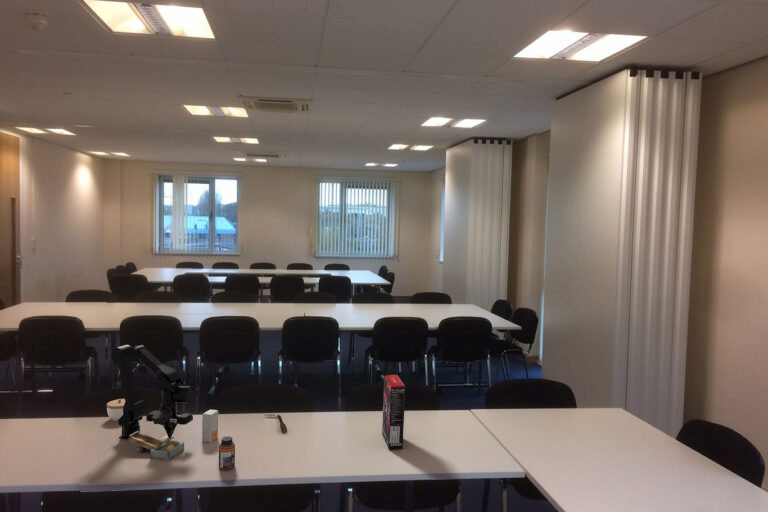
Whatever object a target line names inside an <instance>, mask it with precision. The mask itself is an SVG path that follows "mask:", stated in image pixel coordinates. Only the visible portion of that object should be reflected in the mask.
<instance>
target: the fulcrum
mask: <svg viewBox="0 0 768 512" xmlns="http://www.w3.org/2000/svg"><path fill="white" fill-rule="evenodd" d="M137 450H138V451H137V452H138V454H141V455H142V454H143V453H145V452H147V451H148V450H149V449H147V448H144V447H142V446H138V448H137Z"/></svg>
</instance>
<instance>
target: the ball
mask: <svg viewBox="0 0 768 512" xmlns="http://www.w3.org/2000/svg"><path fill="white" fill-rule="evenodd" d="M174 447H175V446H174V445H169V446H168V447H167V451H170V450H171V449H173V448H174Z"/></svg>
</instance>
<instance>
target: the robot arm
mask: <svg viewBox="0 0 768 512" xmlns="http://www.w3.org/2000/svg"><path fill="white" fill-rule="evenodd" d="M110 353H111V356H110V357H111V359H112V361H113V364H115V366H116V367H117V368H118V371H119V376H120V381H121V385H122V386H121V387H122V389H123V390H122V391H123V396H124V397H123V398H124V399H125V404H124V407H123V415H122V416H121V417H120V418H119V419H118V421H117V424H118V426H121V435H120V436H119V437H118V438H119V439H123V440H128V439H129V435H131V434H133V433H135V432H136V431H139V432H140V433H141V425H140V421H141V420H143V417H144V415H145V414H146V409H147V407H146V405H145V400H141V399H140V398H139V396H138V391H137V386H136V381H135V377H134V376H135V375H134V370H133V365H132V364H133V361H134V358H136V359H138V360H139V361H140V362H141V363H142V364H143V365H144V366H145V367H146V368H148V369H149V370H150V371H151V372H152V374H154V377H155V380H156V381H157V383H158V384H159V385H160V386H159V387H157V389H156V390H157V391H159V392H160V391H161V404H160V405H159V409H158V410H153V411H150V412H149V413H147V415H146V416H145V417H146V422H153V425H159V426H163V428H164V430H165V432H166V435H168V437H169V438H171V437H172V436H173V434H174V432H175V430H176V428H177V426H178V425H182V426H183V425H184V426H186V425H188V424H189V423H190V422H192V421H193V420H194V416H193V414H192V413H185V412H184V413H182V414H180V412H179V410H178V405H179V404H180V403H182V404H192V402H193V401H194V399H195V392H194V389H192V386H190V385H187V386H185V383H184V381H183V379H182V378H181V376H180V375H179V374H180V373H179V372H178V371H177V370H176V369H174V368H173V367H170V366H168V365H165V364H163V363H162V362H161V361H160V360H159V359H158V358H157V357H155V356H154V354H152V353H151V352H150V351H149V350H148V349H147V347H146V346H145V345H143V344H140V345H129V344H124V345H121V346H117V347H114V348H113V349H112V350H111V351H110ZM178 414H179V415H178Z"/></svg>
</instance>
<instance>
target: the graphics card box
mask: <svg viewBox="0 0 768 512" xmlns="http://www.w3.org/2000/svg"><path fill="white" fill-rule="evenodd" d="M383 379H384V381H383V400H382V401H383V403H382V404H383V405H382V424H381V425H382V427H381V436H382V437H383V439H384V442H385V444H386V447H387V449H388V450H397V449H399V450H400V449H403V448H404V430H405V429H404V426H405V406H406V405H405V404H406V403H405V402H406V385H405V383H404V382H403V380H402V379H401V378H400V377H399V375H398V374H387V375H384V378H383Z"/></svg>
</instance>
